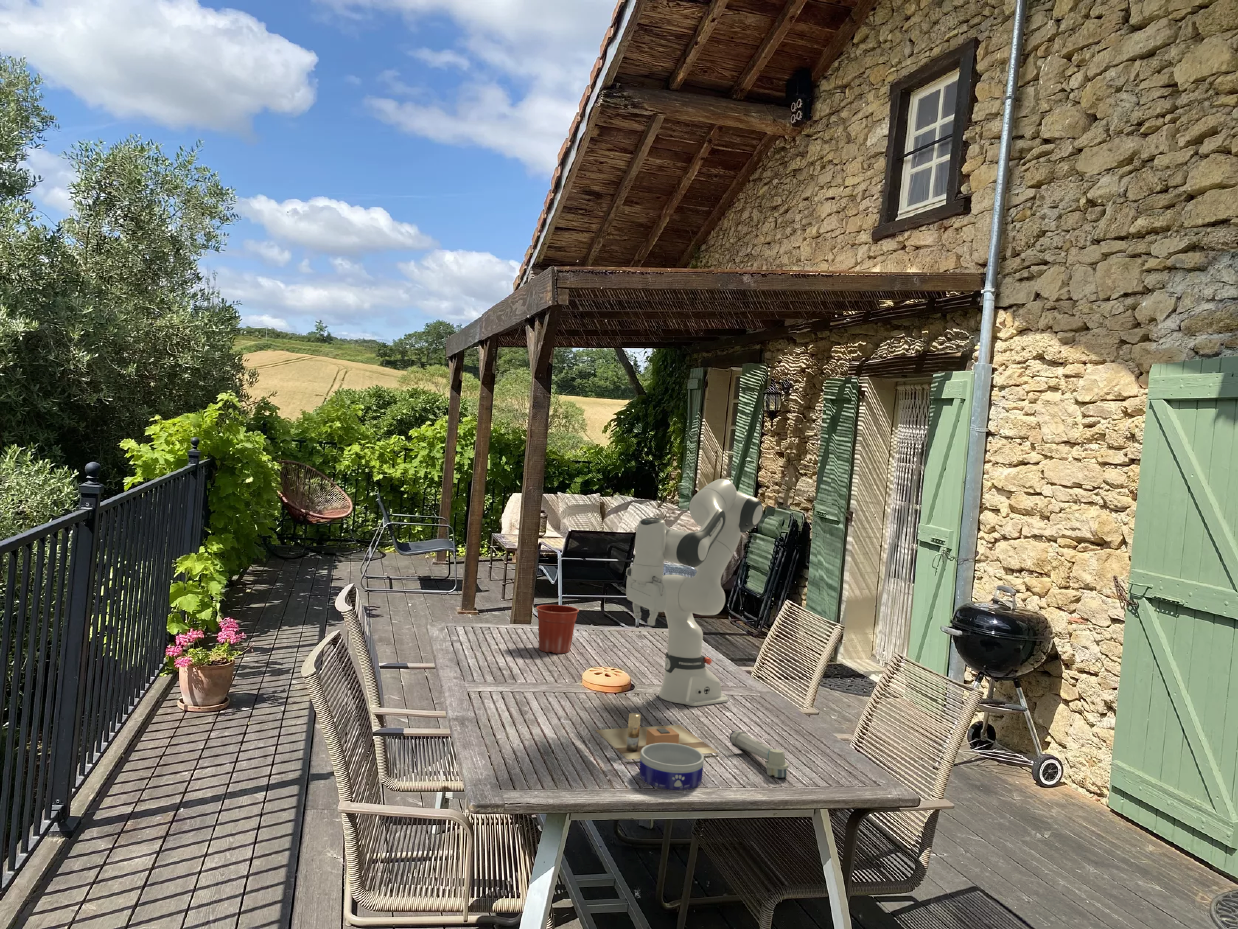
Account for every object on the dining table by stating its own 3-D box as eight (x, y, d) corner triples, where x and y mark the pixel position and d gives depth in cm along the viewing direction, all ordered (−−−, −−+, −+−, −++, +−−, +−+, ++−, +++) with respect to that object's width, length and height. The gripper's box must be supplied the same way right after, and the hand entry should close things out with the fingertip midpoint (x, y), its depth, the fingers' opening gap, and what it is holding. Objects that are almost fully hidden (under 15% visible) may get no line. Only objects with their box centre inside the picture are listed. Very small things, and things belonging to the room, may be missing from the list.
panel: (679, 729, 238) (679, 725, 238) (718, 757, 218) (718, 752, 218) (594, 734, 228) (595, 730, 228) (627, 764, 208) (627, 759, 208)
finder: (669, 742, 222) (671, 726, 222) (678, 749, 218) (679, 733, 218) (645, 744, 220) (647, 728, 220) (653, 751, 215) (655, 734, 215)
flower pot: (538, 643, 330) (541, 602, 330) (579, 647, 328) (582, 607, 328) (528, 652, 314) (531, 609, 314) (571, 657, 312) (574, 614, 312)
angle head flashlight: (744, 729, 231) (792, 749, 207) (744, 754, 230) (792, 777, 206) (727, 729, 229) (773, 749, 205) (726, 755, 228) (773, 778, 204)
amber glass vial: (634, 747, 217) (637, 712, 217) (639, 751, 214) (642, 716, 214) (624, 748, 215) (627, 713, 215) (629, 752, 213) (631, 717, 213)
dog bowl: (656, 794, 191) (658, 767, 191) (628, 768, 205) (630, 744, 205) (713, 788, 197) (715, 762, 197) (683, 764, 211) (685, 740, 211)
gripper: (673, 580, 233) (669, 629, 233) (643, 568, 252) (639, 614, 252) (653, 579, 230) (649, 629, 230) (623, 568, 249) (620, 614, 249)
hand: (643, 621), depth 241 cm, fingers open, 8 cm apart
